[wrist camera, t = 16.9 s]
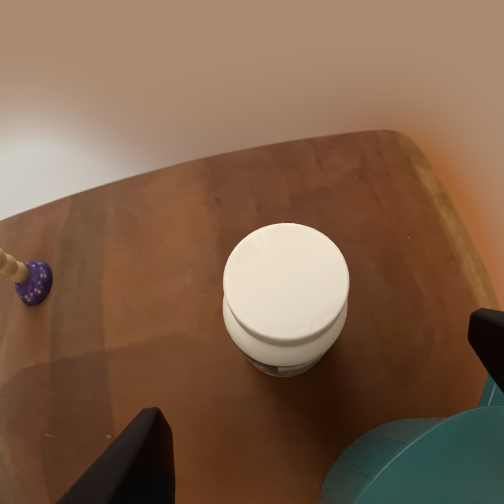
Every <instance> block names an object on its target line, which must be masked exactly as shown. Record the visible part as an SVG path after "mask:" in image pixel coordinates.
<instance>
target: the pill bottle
mask: <svg viewBox="0 0 504 504" xmlns="http://www.w3.org/2000/svg"><path fill="white" fill-rule="evenodd" d="M223 288H224V299H223V315H224V321H225V325H226V328H227V330H228V333H229V335H230V337H231V339H232V341H233V342H234V344H235V345H236V346H237V347H238V348H239V349H240V350H241V352H242V353H243V355H244V356H245V357H246V358H247V359H248V361H249V362H250V363H251V364H252V365H253V366H254V367H256V368H257V369H258V370H260V371H262V372H264V373H266V374H269V375H272V376H277V377H290V376H295V375H298V374H301V373H303V372H305V371H307V370H308V369H310V368H311V367H313V366H314V365H315V364H316V363H317V362H318V361H319V360H320V359H321V358H322V356H323V355H324V354H325V353H326V351H327V350H328V349H329V348H330V347H331V346H332V345H333V343H334V342H335V341H336V339H337V338H338V336H339V334H340V332H341V330H342V328H343V326H344V324H345V320H346V316H347V297H348V292H349V272H348V268H347V265H346V262H345V259H344V257H343V255H342V253H341V252H340V250H339V249H338V248H337V246H336V245H335V244H334V243H333V242H332V241H331V240H330V239H329V238H328V237H326V236H325V235H323V234H322V233H320V232H319V231H317V230H315V229H313V228H310V227H307V226H304V225H300V224H293V223H281V224H274V225H269V226H266V227H263V228H260V229H258V230H256V231H254V232H252V233H251V234H249V235H248V236H247V237H245V238H244V239H243V240H242V241H241V242H240V243H239V244H238V245H237V246H236V248H235V249H234V250H233V252H232V253H231V255H230V257H229V259H228V261H227V264H226V267H225V271H224V277H223Z"/></svg>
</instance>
